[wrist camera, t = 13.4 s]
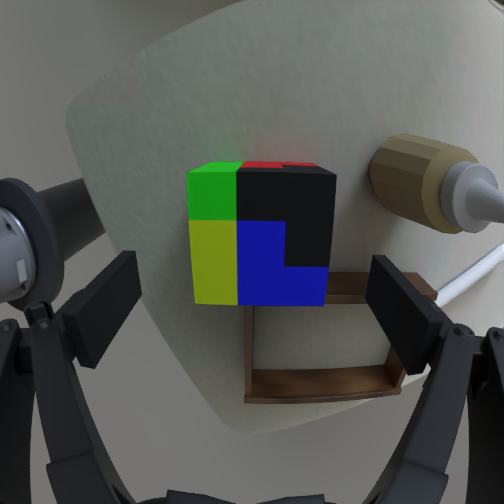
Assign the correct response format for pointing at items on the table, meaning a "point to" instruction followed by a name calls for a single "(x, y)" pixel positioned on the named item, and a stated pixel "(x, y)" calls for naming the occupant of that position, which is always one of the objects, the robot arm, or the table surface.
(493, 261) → the marker
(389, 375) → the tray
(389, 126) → the table surface
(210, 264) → the puzzle toy
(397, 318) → the robot arm
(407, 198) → the squeeze bottle
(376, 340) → the table surface
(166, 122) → the table surface
